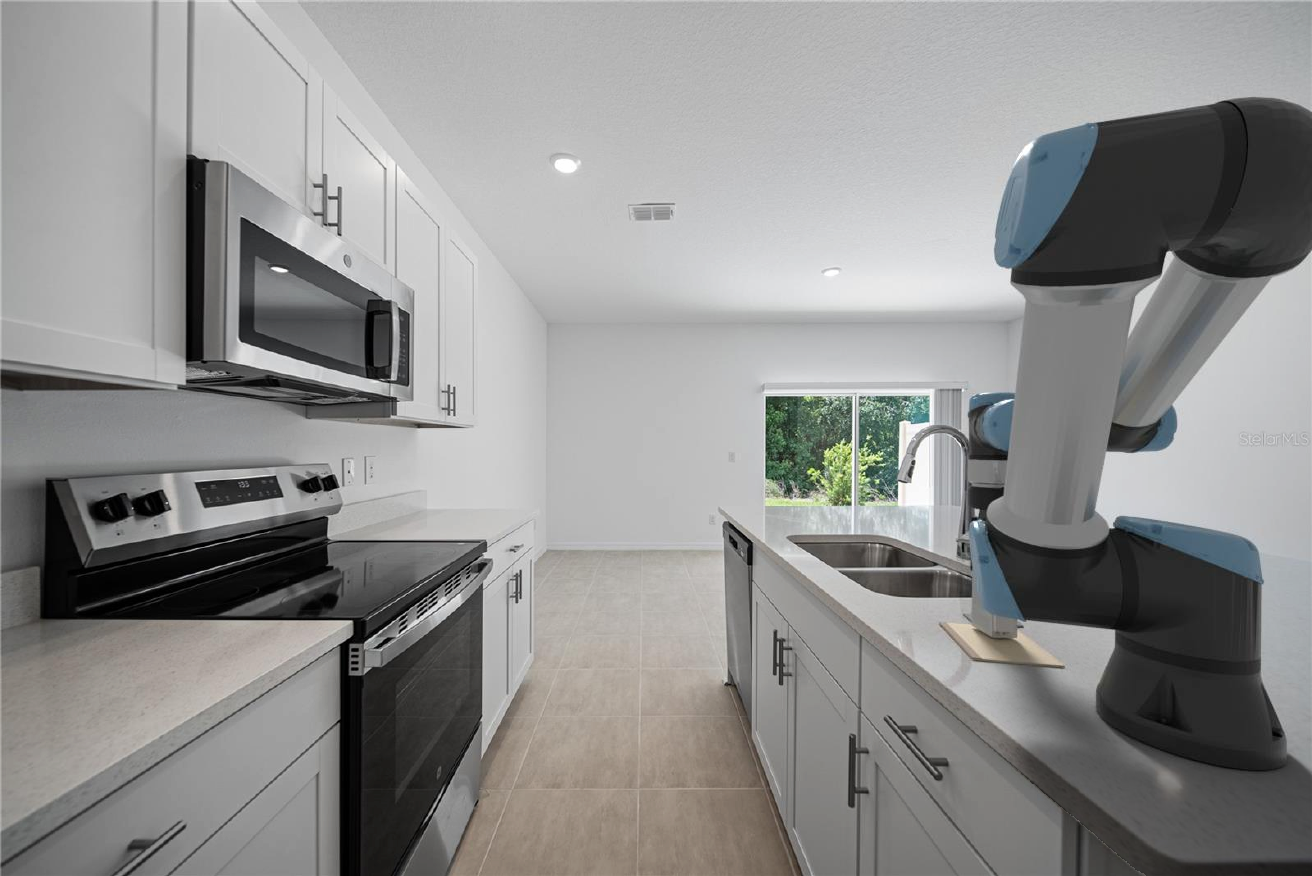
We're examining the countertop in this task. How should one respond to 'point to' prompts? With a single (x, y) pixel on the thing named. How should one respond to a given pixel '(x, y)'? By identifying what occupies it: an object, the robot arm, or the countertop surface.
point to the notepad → (999, 647)
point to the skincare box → (986, 617)
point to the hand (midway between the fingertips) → (994, 623)
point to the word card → (969, 617)
